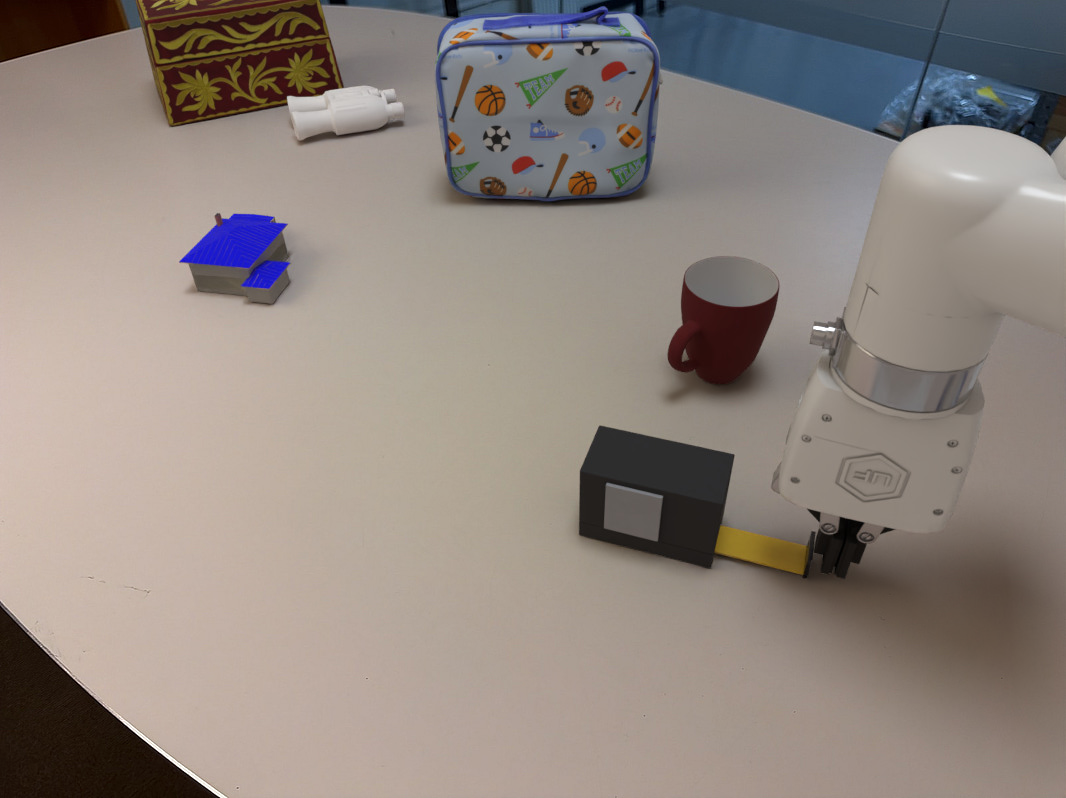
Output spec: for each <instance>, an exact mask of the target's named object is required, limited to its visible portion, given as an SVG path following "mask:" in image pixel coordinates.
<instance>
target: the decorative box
mask: <svg viewBox="0 0 1066 798" xmlns="http://www.w3.org/2000/svg"><path fill="white" fill-rule="evenodd" d="M134 2H135V5H136V9H137V13H138V18H139V21H140V26H141V30H142V31H141V32H142V35H143V38H144V43H145V48H146V52H147V56H148V59H149V63H150V64H149V65H150V68H151V73H152V77H153V80H154V84H155V89H156V92H157V94H158V97H159V100H160V103H161V107H162V110H163V112H164V116H165V118H166V121H167V124H168V125H169V127H170V126H171V127H172V126H173V127H174V126H180V125H185V124H191V123H196V122H201V121H207V120H212V119H217V118H222V117H227V116H233V115H238V114H243V113H249V112H253V111H254V112H255V111H259V110H264V109H269V108H275V107H279V106H285V105H288V102H287V96H294V97H316V96H321V95H323V94H324V93H325V91H329V90H335V89H342V88H345V86H344V82H343V79H342V75H341V71H340V67H339V63H338V60H337V57H336V53H335V50H334V45H333V43H332V39H331V37H330V32H329V28H328V23H327V21H326V17H325V13H324V10H323V7H322V2H321V0H134Z"/></svg>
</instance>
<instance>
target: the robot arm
mask: <svg viewBox="0 0 1066 798" xmlns="http://www.w3.org/2000/svg"><path fill="white" fill-rule="evenodd" d="M873 204H874V205H873V208H872V211H871V215H870V219H869V222H868V226H867V229H866V233H865V237H864V241H863V244H862V247H861V252H860V254H859V259H858V262H857V267H856V270H855V272H854V277H853V280H852V284H851V287H850V290H849V293H848V298H847V302H846V305H845V306H844V307H843V311H842V315H841V317H838V316H837V317H836V319H835V322H833V321H828V322H827V323H826V322H820V321H815V320H814V321H813V325H812V329H811V333H810V337H809V343H808V344H809V345H813V346H819V347H822V348H821V349H823V352H822V353H821V354H820V356H819V357H818V360H817V361H816V362H815V365H814V366H813V369H812V371H811V372H810V374H809V376H808V378H807V381H806V383H805V385H804V386H803V387H804V388H803V390H802V392H801V395H800V397H799V400H798V402H797V405H796V409H795V411H794V412H793V413H794V414H793V416H792V419H791V423H790V425H789V429H788V432H787V435H786V439H785V446H784V450H783V453H782V458H781V461H780V463H779V464H778V466H777V467H776V469H775V470H774V471H773V473H772V479H771V485H770V489H771V490H772V491H773V492H774V493H776V494H779V495H780V496H781V497H782V498H783V499H784V500H786V501H787V502H789V503H791V504H793V505H795V506H797V507H800V508H804V509H806V511H808V512H809V513H810V514H811V515H812V516H813V518H814V519H816V521H817V522H818V524H819V527H818V530H817V532H816V533H817V534H816V536H815V542H814V551H813V554H816V555H819V556H821V557H822V558H821V565H820V574H822V575H823V574H824V575H828V576H829V575H830V574H831V575H832V574H833V575H835V576H836V578H839V579H843V580H845V579H846V577H847V574H848V571H849V570H850V569H849V568H850V567H851V564H855V565H860V563H861V560H862V559H863V555H864V553H865V551H866V548H867V545H869V544H873V543H875V542H876V541H877V539H878V538H879V536H880V535H883V534H886V533H890V532H893V531H896V530H897V531H902V532H906V533H912V534H920V535H921V534H923V535H925V534H928V535H929V534H935V533H939V532H941V531H943V529H945V528H946V526H947V525H948V524H949V522H950V520H951V518H952V516H953V514H954V512H955V509H956V506H957V504H958V502H959V498H960V496H961V492H962V490H963V487H964V484H965V482H966V478H967V476H968V473H969V469H970V467H971V463H972V460H973V458H974V454H975V450H976V447H977V443H978V440H979V436H980V432H981V427H982V423H983V420H984V419H983V418H984V411H985V402H986V401H985V395H984V392H983V388H982V383H981V381H980V379H979V376H980V374H981V372H982V370H983V367H984V365H985V362H986V361H987V358H988V356H989V354H990V351H991V349H992V347H993V345H994V342H995V339H996V337H997V335H998V333H999V330H1000V328H1001V326H1002V324H1003V321H1004V319H1005V316H1007V317H1011V318H1013V319H1015V320H1019V321H1021V322H1023V323H1026V324H1028V325H1031V326H1034V327H1036V328H1039V329H1042V330H1043V331H1046V332H1049V333H1051V334H1053V335H1056V336H1059V337H1061V338H1064V339H1066V136H1065V137H1064V138H1063V139H1062V141H1060V143H1059V144H1058V146H1057V147H1056V148H1055V149H1054V151H1052V152H1051V154H1050V155H1049V153H1048V152H1047V151H1045V149H1044V148H1043V147H1041V146H1040V145H1038V144H1037V143H1035V142H1034V141H1031V140H1029V139H1027V138H1026V137H1023V136H1020V135H1018V134H1014V133H1012V132H1008V131H1005V130H1001V129H997V128H993V127H988V126H987V127H986V126H981V125H980V126H979V125H973V124H972V125H970V124H969V125H968V124H945V125H939V126H937V125H936V126H931V127H928V128H927V127H926V128H924V129H921V130H919V131H917V132H914V133H912V134H910V135H908V136H907V137H906V138H904V139H903V140H902V141H900V142H899V143H897V145H896V147H895V148H894V149H893V151H892V152H891V153H890V155H889V157H888V159H887V161H886V164H885V166H884V170H883V172H882V175H881V178H880V182H879V185H878V189H877V192H876V197H875V201H874V203H873Z"/></svg>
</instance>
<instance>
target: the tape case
mask: <svg viewBox="0 0 1066 798" xmlns="http://www.w3.org/2000/svg"><path fill="white" fill-rule="evenodd" d="M735 456H736V455H735V453H731V452H725V451H720V450H716V449H711V448H707V447H703V446H698V445H693V444H688V443H685V442H679V441H675V440H670V439H666V438H661V437H655V436H651V435H647V434H642V433H639V432H638V433H637V432H632V431H628V430H623V429H619V428H614V427H610V426H606V425H598V427H597V429H596V432H595V434H594V436H593V439H592V441H591V444H590V445H589V448H588V451H587V453H586V455H585V458H584V460H583V462H582V464H581V466H580V469H579V493H578V494H579V498H578V501H579V503H578V504H579V506H578V514H579V515H578V535H579V536H581V537H586V538H590V539H593V540H597V541H601V542H605V543H608V544H612V545H617V546H621V547H625V548H628V549H633V550H637V551H641V552H644V553H648V554H652V555H657V556H660V557H664V558H667V559H671V560H675V561H680V562H683V563H687V564H691V565H695V566H698V567H704V568H707V569H712V567H713V562H714V556H715V553H714V552H715V547H716V543H717V538H718V534H719V530H720V525H722V524H723V519H724V514H725V510H726V509H725V508H726V503H727V499H728V493H729V487H730V483H731V478H732V477H731V476H732V472H733V468H734V467H733V466H734V461H735Z"/></svg>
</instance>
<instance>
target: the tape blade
mask: <svg viewBox="0 0 1066 798" xmlns="http://www.w3.org/2000/svg"><path fill="white" fill-rule="evenodd" d="M816 533H817V531H814V530H811V531H810V535H809V537H808V541H807V544H806V545H805V544H801V543H796V542H792V541H788V540H784V539H780V538H775V537H771V536H767V535H763V534H759V533H756V532H755V533H754V532H751V531H746V530H743V529H739V528H734V527H730V526H726V525H722V524H721V525H720V530H719V534H718V538H717V543H716V547H715V552H714V554H717V555H720V556H721V555H722V556H726V557H728V558H729V557H730V558H732V559H737V560H741V561H746V562H750V563H753V564H757V565H762V566H766V567H769V568H773V569H777V570H782V571H786V572H790V573H792V574H793V573H794V574H796V575H801V576H802V578H803V579H805V580H806V579H808V576H809V572H810V570H811V566H812V564H813V559H814V558H813V557H814V547H815V541H816V535H817V534H816Z"/></svg>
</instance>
